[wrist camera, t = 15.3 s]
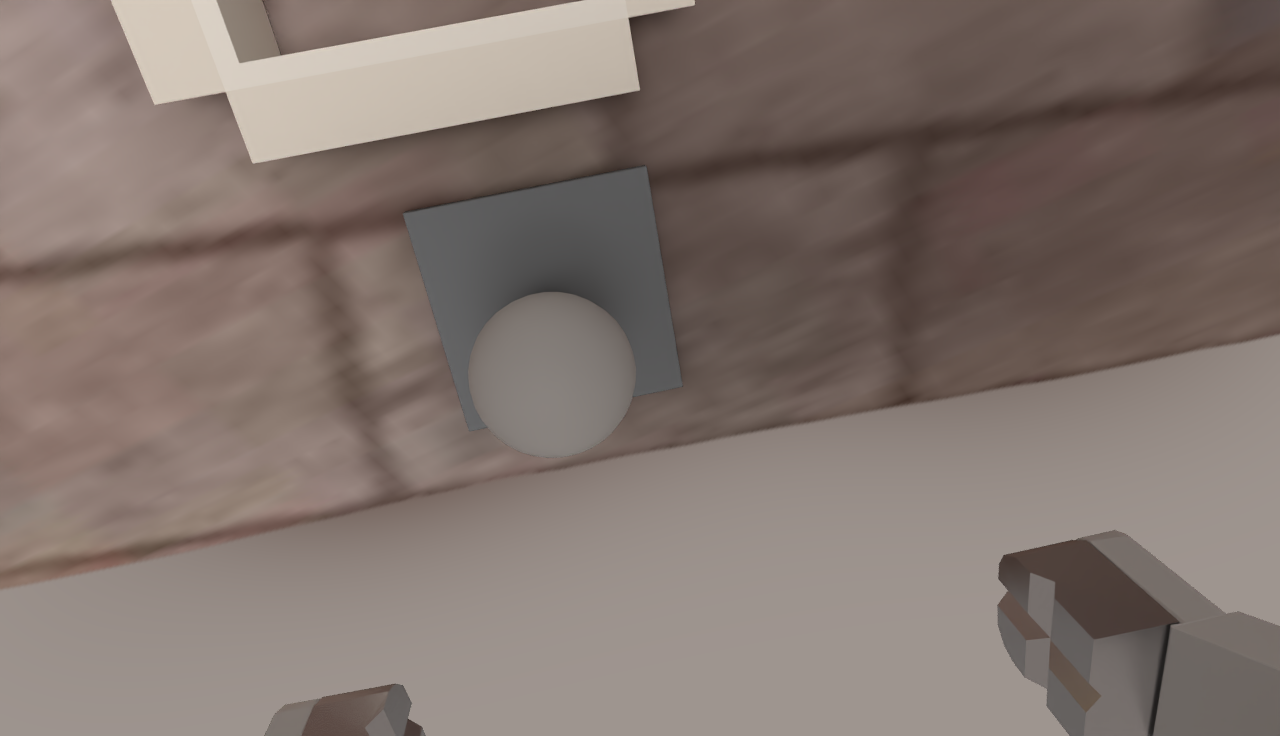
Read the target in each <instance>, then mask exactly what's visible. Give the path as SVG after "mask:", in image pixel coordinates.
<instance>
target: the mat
mask: <svg viewBox="0 0 1280 736" xmlns="http://www.w3.org/2000/svg"><path fill="white" fill-rule="evenodd" d="M403 216H404V219H405V222H406V226H407V229H408V232H409V235H410V239H411V242H412V245H413V249H414V252H415V255H416V258H417V262H418V265H419V268H420V272H421V275H422V278H423V281H424V285H425V288H426V291H427V295H428V298H429V301H430V304H431V308H432V311H433V314H434V318H435V321H436V324H437V327H438V331H439V334H440V337H441V340H442V344H443V347H444V350H445V354H446V357H447V360H448V363H449V367H450V370H451V373H452V377H453V380H454V383H455V386H456V390H457V393H458V396H459V400H460V403H461V406H462V409H463V413H464V416H465V419H466V423H467V426H468V429H469V431H474V430H479V429H483V428H488V427H487V426H486V425H485V423H484V422H483V421H482V419H481V418H480V416H479V414H478V412H477V410H476V408H475V406H474V403H473V400H472V396H471V393H470V389H469V379H468V368H469V361H470V355H471V352H472V349H473V347H474V344H475V341H476V339H477V336H478V335H479V333H480V332H481V330H482V328H483V327H484V325H485V324H486V323H487V322H488V321H489V320H490V319H491V318H492V317H493V316H494V315H495V314H496V313H497V312H498V311H499V310H501V309H502V308H504V307H505V306H507V305H508V304H510V303H511V302H513V301H515V300H518V299H520V298H523V297H525V296H527V295H531V294H536V293H541V292H563V293H568V294H574V295H577V296H579V297H582V298H584V299H587V300H589V301H591V302H593V303H594V304H596V305H597V306H599V307H601V308H602V309H604V310H605V311H606V312H607V313H609V314H610V315H611V316H612V317H613V318H614V319H615V320H616V321H617V322H618V324H619V325H620V327H621V328H622V330H623V331H624V333H625V334H626V336H627V339H628V341H629V343H630V346H631V348H632V351H633V355H634V361H635V366H636V383H635V388H634V392H633V396H632V397H636V396H641V395H645V394H650V393H655V392H660V391H664V390H669V389H674V388H679V387H683V385H682V379H681V373H680V367H679V361H678V355H677V349H676V342H675V336H674V330H673V324H672V318H671V312H670V306H669V300H668V294H667V288H666V282H665V276H664V270H663V264H662V258H661V252H660V245H659V239H658V233H657V227H656V221H655V215H654V209H653V203H652V197H651V191H650V185H649V179H648V173H647V167H646V166H645V165H642V166H637V167H632V168H627V169H622V170H617V171H612V172H607V173H601V174H596V175H591V176H586V177H581V178H576V179H571V180H565V181H560V182H555V183H550V184H545V185H540V186H535V187H529V188H524V189H519V190H514V191H509V192H504V193H499V194H493V195H488V196H483V197H478V198H473V199H468V200H463V201H458V202H452V203H447V204H442V205H437V206H432V207H427V208H422V209H416V210H411V211H406V212H404V213H403Z"/></svg>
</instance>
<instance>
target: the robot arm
mask: <svg viewBox="0 0 1280 736" xmlns="http://www.w3.org/2000/svg"><path fill="white" fill-rule="evenodd" d="M998 579H999V580H1000V581H1001V583H1002V584H1003V585H1004V586H1005V587H1006V589H1007V590H1008V592H1007V593H1006V594H1005V596H1004V597H1003V598H1002V600H1001V601H1000V603H999V604H998V627H999V630H1000V633H1001V637H1002V640H1003V643H1004V646H1005V648H1006V650H1007V652H1008V654H1009V655H1010V657H1011V659H1012V661H1013V662H1014V664H1015V665H1016V666H1017V668H1018V669H1019V670H1020V672H1021V673H1022V675H1023V676H1024V677H1025V678H1027V679H1029V680H1031V681H1033V682H1035V683H1037V684H1039V685H1041V686H1043V687H1045V688H1046V689H1047V707H1048V709H1049V710H1050V711H1051V712H1052V714H1053V715H1054V716H1055V717H1056V718H1057V720H1058V721H1059V723H1060V724H1061V725H1062V727H1063V728H1064V729H1065V730H1066V732H1067V733H1068V734H1069V736H1280V626H1278V625H1275V624H1272V623H1270V622H1267V621H1264V620H1261V619H1258V618H1256V617H1253V616H1249V615H1247V614H1244V613H1241V612H1234V613H1228V614H1226V613H1225V612H1223V611H1222V610H1221V609H1220V608H1218V607H1217V606H1216V605H1214V604H1213V603H1212V602H1211V601H1210V600H1208V599H1207V598H1206V597H1204V596H1203V595H1202V594H1201V593H1199V592H1198V591H1197V590H1196V589H1194V588H1193V587H1192V586H1191V585H1189V584H1188V583H1187V582H1186V581H1184V580H1183V579H1182V578H1181V577H1179V576H1178V575H1177V574H1176V573H1174V572H1173V571H1172V570H1171V569H1169V568H1168V567H1167V566H1166V565H1164V564H1163V563H1162V562H1161V561H1159V560H1158V559H1157V558H1156V557H1154V556H1153V555H1152V554H1151V553H1149V552H1148V551H1147V550H1146V549H1144V548H1143V547H1142V546H1141V545H1139V544H1138V543H1137V542H1136V541H1134V540H1133V539H1132V538H1131V537H1129V536H1128V535H1126V534H1124V533H1122V532H1118V531H1115V530H1113V531H1109V532H1104V533H1100V534H1095V535H1091V536H1087V537H1082V538H1078V539H1077V540H1070V541H1066V542H1061V543H1056V544H1052V545H1047V546H1043V547H1039V548H1034V549H1029V550H1025V551H1020V552H1016V553H1011V554H1006V555H1004V556H1003V558H1002V559H1001V562H1000V563H999V577H998ZM411 704H412V703H411V701H410V698H409V697H408V694H407V692H406V690H405V688H404V686H403V685H399V684H391V685H385V686H380V687H375V688H369V689H364V690H359V691H353V692H348V693H342V694H337V695H332V696H326V697H322V698H321V699H316V700H309V701H304V702H298V703H293V704H287V705H284V706H283V707H282V708H281V709H280V710H279V711H278V712H277V713H275V715H274V716H273V718H272V721H271V723H270V725H269V727H268V729H267V731H266V733H265V735H264V736H426V735H425V733H424V730H423V728H422V727H421V726H419V725H418V724H416V723H414V722H412V721H411V720H409V719H408V716H409V712H410V708H411Z"/></svg>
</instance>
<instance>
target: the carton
mask: <svg viewBox="0 0 1280 736" xmlns="http://www.w3.org/2000/svg"><path fill="white" fill-rule="evenodd" d="M111 2H112V4H113V7H114V9H115V11H116V14H117V16H118V19H119V21H120V23H121V26H122V28H123V31H124V33H125V35H126V38H127V40H128V43H129V45H130V47H131V50H132V52H133V55H134V57H135V59H136V62H137V64H138V66H139V69H140V71H141V74H142V76H143V78H144V81H145V83H146V86H147V88H148V90H149V93H150V95H151V98H152V100H153V102H154V105H161V104H166V103H172V102H177V101H182V100H188V99H193V98H199V97H204V96H210V95H215V94H220V93H226V94H227V97H228V99H229V102H230V105H231V107H232V110H233V113H234V115H235V118H236V121H237V123H238V126H239V129H240V131H241V134H242V136H243V139H244V142H245V144H246V147H247V150H248V152H249V155H250V158H251V160H252V163H253V164H254V163H259V162H265V161H270V160H275V159H281V158H286V157H291V156H296V155H302V154H307V153H312V152H317V151H323V150H328V149H333V148H339V147H344V146H349V145H354V144H360V143H365V142H370V141H375V140H381V139H386V138H391V137H397V136H402V135H407V134H412V133H418V132H423V131H428V130H433V129H439V128H444V127H449V126H455V125H460V124H465V123H470V122H476V121H481V120H486V119H491V118H497V117H502V116H507V115H513V114H518V113H523V112H528V111H534V110H539V109H544V108H549V107H555V106H560V105H565V104H571V103H576V102H581V101H586V100H592V99H597V98H602V97H607V96H613V95H618V94H623V93H629V92H634V91H639V90H640V87H639V81H638V75H637V69H636V62H635V56H634V50H633V44H632V38H631V32H630V25H629V19H628V18H632V17H637V16H643V15H648V14H653V13H659V12H664V11H670V10H675V9H680V8H686V7H691V6H694V5H695V0H583V1H577V2H572V3H566V4H561V5H555V6H550V7H544V8H539V9H534V10H528V11H523V12H517V13H512V14H506V15H501V16H495V17H490V18H484V19H479V20H473V21H468V22H463V23H457V24H452V25H446V26H441V27H435V28H430V29H424V30H419V31H413V32H408V33H402V34H397V35H392V36H386V37H381V38H375V39H370V40H364V41H359V42H353V43H348V44H342V45H337V46H331V47H326V48H320V49H315V50H310V51H304V52H299V53H293V54H288V55H282V56H281V54H280V51H279V48H278V45H277V42H276V39H275V36H274V33H273V30H272V27H271V24H270V22H269V19H268V16H267V13H266V10H265V7H264V4H263V1H262V0H111Z"/></svg>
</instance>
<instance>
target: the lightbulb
mask: <svg viewBox="0 0 1280 736" xmlns="http://www.w3.org/2000/svg"><path fill="white" fill-rule="evenodd" d="M468 379H469V389H470V393H471V396H472V400H473V403H474V406H475V408H476V410H477V412H478V414H479V416H480V418H481V419H482V421H483V422H484V423H485V425H486V426H487V427H488V428H489V429H490V431H491V432H492V433H493V434H494V435H495V436H496V437H497V438H499V439H500V440H501V441H502V442H504V443H505V444H506V445H508V446H510V447H512V448H514V449H515V450H517V451H519V452H522V453H526V454H529V455H532V456H538V457H545V458H557V457H566V456H571V455H576V454H579V453H581V452H584V451H586V450H589V449H591V448H593V447H594V446H596V445H597V444H599V443H600V442H602V441H603V440H604V439H606V438H607V437H608V436H609V435H610V434H611V433H612V432H613V431H614V430H615V429H616V427H617V426H618V424H619V423H620V422H621V420H622V419H623V418H624V416H625V414H626V412H627V410H628V408H629V406H630V404H631V400H632V396H633V392H634V388H635V383H636V366H635V361H634V355H633V351H632V348H631V346H630V343H629V341H628V339H627V336H626V334H625V333H624V331H623V330H622V328H621V327H620V325H619V324H618V322H617V321H616V320H615V319H614V318H613V317H612V316H611V315H610V314H609V313H607V312H606V311H605V310H604V309H602V308H601V307H599V306H597V305H596V304H594V303H593V302H591V301H589V300H587V299H584V298H582V297H579V296H577V295H574V294H568V293H563V292H541V293H536V294H531V295H527V296H525V297H523V298H520V299H518V300H515V301H513V302H511V303H510V304H508V305H507V306H505V307H504V308H502V309H501V310H499V311H498V312H497V313H496V314H495V315H494V316H493V317H492V318H491V319H490V320H489V321H488V322H487V323H486V324H485V325H484V327H483V328H482V330H481V332H480V333H479V335H478V336H477V339H476V341H475V344H474V347H473V349H472V352H471V355H470V361H469V368H468Z"/></svg>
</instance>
